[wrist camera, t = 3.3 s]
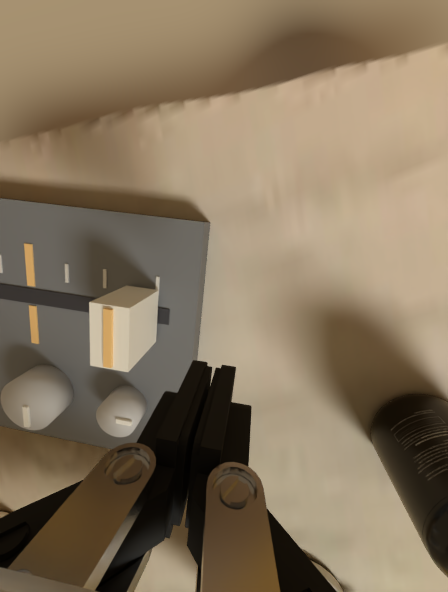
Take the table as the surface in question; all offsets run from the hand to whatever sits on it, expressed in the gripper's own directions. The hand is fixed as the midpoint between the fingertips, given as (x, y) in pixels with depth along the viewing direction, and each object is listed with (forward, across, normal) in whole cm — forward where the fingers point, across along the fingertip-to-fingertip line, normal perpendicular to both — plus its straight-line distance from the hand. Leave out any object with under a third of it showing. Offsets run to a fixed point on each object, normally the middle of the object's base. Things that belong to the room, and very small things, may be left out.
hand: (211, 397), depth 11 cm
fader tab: (+9, +7, +1) cm, 12 cm away
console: (+12, +12, +4) cm, 17 cm away
